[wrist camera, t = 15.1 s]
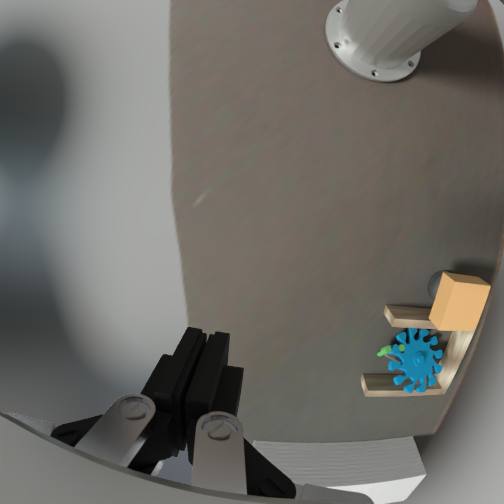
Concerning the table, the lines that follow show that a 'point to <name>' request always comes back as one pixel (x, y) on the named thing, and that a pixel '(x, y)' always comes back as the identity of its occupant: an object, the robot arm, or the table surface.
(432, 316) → the block
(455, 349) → the chassis bay
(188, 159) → the table surface
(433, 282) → the silver metal rounded piece
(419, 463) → the stack of papers
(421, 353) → the gear
